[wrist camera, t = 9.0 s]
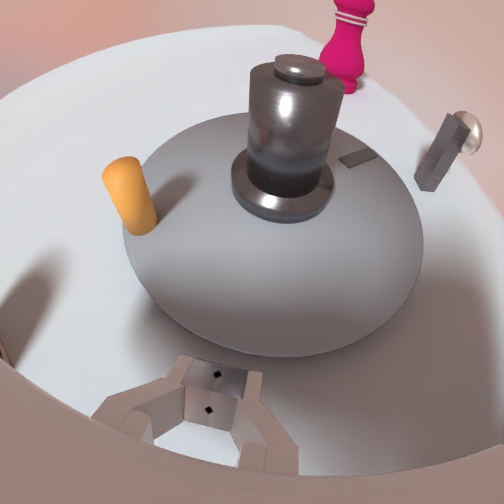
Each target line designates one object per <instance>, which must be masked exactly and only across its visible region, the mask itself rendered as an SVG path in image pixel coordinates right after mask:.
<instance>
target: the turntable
mask: <svg viewBox="0 0 504 504" xmlns="http://www.w3.org/2000/svg"><path fill="white" fill-rule="evenodd" d="M248 114H249V112H248V113H238V114H232V115H226V116H222V117H218V118H214V119H210V120H207V121H205V122H202V123H199V124H196V125H194V126H192V127H190V128H188V129H186V130H184V131H182V132H180V133H179V134H177V135H175V136H174V137H172V138H171V139H169V140H168V141H167V142H165V143H164V144H163V145H161V146H160V147H159V148H158V149H157V150H156V151H155V152H154V153H153V154H152V155H151V156H150V157H149V158H148V159H147V160H146V162H145V163H144V164H143V165H142V167H141V165H140V162H139V160H138V159H137V158H135V157H122V158H119V159H117V160H115V161H113V162H112V163H110V164H109V165H108V166H107V167H106V168H105V169H104V171H103V174H102V179H103V181H104V184H105V186H106V188H107V190H108V192H109V194H110V196H111V198H112V201H113V203H114V205H115V207H116V209H117V211H118V213H119V215H120V217H121V219H122V221H123V235H124V243H125V247H126V250H127V254H128V257H129V260H130V263H131V265H132V267H133V269H134V271H135V273H136V275H137V277H138V279H139V280H140V282H141V283H142V285H143V286H144V288H145V289H146V290H147V292H148V293H149V294H150V296H151V297H152V298H153V299H154V301H155V302H156V303H157V304H158V305H159V306H160V307H161V308H162V309H163V310H164V311H165V312H166V313H167V314H168V315H169V316H171V317H172V318H173V319H174V320H175V321H177V322H178V323H180V324H181V325H182V326H184V327H185V328H187V329H188V330H190V331H191V332H193V333H194V334H196V335H198V336H200V337H202V338H204V339H207V340H209V341H211V342H213V343H215V344H217V345H220V346H223V347H226V348H229V349H233V350H236V351H239V352H243V353H246V354H253V355H260V356H268V357H304V356H310V355H316V354H322V353H327V352H330V351H333V350H336V349H339V348H342V347H345V346H348V345H350V344H352V343H354V342H356V341H358V340H360V339H362V338H363V337H365V336H367V335H369V334H371V333H372V332H374V331H375V330H377V329H378V328H379V327H380V326H382V325H383V324H384V323H385V322H386V321H388V320H389V319H390V318H391V317H392V316H393V315H394V314H395V313H396V312H397V311H398V310H399V308H400V307H401V306H402V305H403V304H404V302H405V301H406V299H407V298H408V296H409V294H410V293H411V291H412V289H413V287H414V285H415V283H416V280H417V277H418V275H419V272H420V268H421V263H422V257H423V232H422V225H421V221H420V217H419V214H418V210H417V208H416V205H415V203H414V200H413V198H412V196H411V194H410V192H409V191H408V189H407V187H406V185H405V184H404V182H403V181H402V180H401V178H400V177H399V175H398V174H397V173H396V172H395V170H394V169H393V168H392V167H391V166H390V165H389V164H388V163H387V162H386V161H385V160H384V159H383V158H382V157H381V156H380V155H379V154H378V153H376V152H375V151H374V150H373V149H371V148H370V147H369V146H367V145H366V144H365V143H363V142H362V141H360V140H358V139H357V138H355V137H354V136H352V135H350V134H348V133H346V132H344V131H342V130H340V129H338V128H336V127H335V129H334V133H333V136H332V140H331V143H330V147H329V150H328V154H327V157H326V161H325V162H326V163H327V164H328V166H329V167H330V169H331V171H332V174H333V177H334V186H333V190H332V193H331V195H330V198H329V201H328V203H327V205H326V207H325V209H324V210H323V211H322V212H321V213H320V214H319V215H317V216H316V217H314V218H312V219H310V220H308V221H305V222H301V223H295V224H280V223H273V222H269V221H265V220H263V219H260V218H258V217H256V216H254V215H252V214H250V213H249V212H247V211H246V210H245V209H244V208H242V207H241V205H240V204H239V203H238V202H237V200H236V199H235V197H234V195H233V192H232V188H231V167H232V163H233V161H234V159H235V158H236V156H237V155H238V154H239V153H240V152H242V151H243V150H244V149H246V148H247V139H248Z"/></svg>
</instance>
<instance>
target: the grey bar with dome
mask: <svg viewBox="0 0 504 504" xmlns="http://www.w3.org/2000/svg"><path fill="white" fill-rule="evenodd" d="M482 136H483V134H482V128H481V125H480V123H479V121H478V119H477V118H476V117H475V116H474V115H472V114H470V113H468V112H465V111H458V112H456V113H455V114H454V115H451V114H448V113H447V115H446V117H445V119H444V121H443V124H442V126H441V128H440V130H439V132H438V134H437V136H436V138H435V139H434V141H433V143H432V145H431V147H430V149H429V151H428V153H427V155H426V156H425V158H424V160H423V162H422V164H421V166H420V167H419V169H418V171H417V173H416V174H415V176H414V178H415V180H416V182H417V184H418V186H419V188H420V189H421V191H429V192H434V191H435V189H436V188H437V186H438V185H439V183H440V182H441V180H442V179H443V177H444V176H445V174H446V172H447V171H448V169H449V168H450V166H451V164H452V163H453V161H454V160H455V158H456V156H457V154H458V153H462V154H466V155H472V154H474V153H475V152H477V150H478V149H479V148H480V146H481V142H482Z"/></svg>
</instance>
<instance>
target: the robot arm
mask: <svg viewBox="0 0 504 504" xmlns="http://www.w3.org/2000/svg"><path fill="white" fill-rule="evenodd" d="M262 378H263V373H262V372H257V371H251V370H249V371H248V370H243V369H238V368H233V367H229V366H224V365H221V364H217V363H213V362H209V361H205V360H202V359H198V358H194V357H191V356H187V355H184V354H182V355H180V356H179V358H178V359H177V361H176V362H175V364H174V366H173V367H172V369H171V371H170V372H169V374H168V375H167V377H166V379H163V378H160V379H157V380H155V381H152V382H149V383H147V384H144V385H141V386H138V387H135V388H133V389H130V390H127V391H124V392H121V393H118V394H115V395H112V396H109V397H107V398H106V399H105V400H104V402H103V403H102V404H101V405H100V407H99V408H98V409H97V410H96V412H95V413H94V414H93V415H92V417H91V418H90V417H88V416H86V415H84V414H82V413H80V412H79V411H77V410H75V409H73V408H72V407H70V406H68V405H66V404H65V403H63V402H61V401H60V400H58V399H56V398H55V397H53V396H52V395H50V394H49V393H47V392H46V391H44V390H43V389H41V388H40V387H38V386H37V385H35V384H34V383H32V382H31V381H30V380H28V379H27V378H25V377H24V376H23V375H21V374H20V373H19V372H17V371H16V370H15V369H14V368H12V367H11V366H10V365H9V364H7V363H6V362H5V361H4V360H3V359H1V358H0V504H504V444H499V445H496V446H493V447H491V448H488V449H486V450H483V451H480V452H477V453H474V454H471V455H468V456H465V457H462V458H458V459H455V460H451V461H447V462H444V463H440V464H435V465H431V466H426V467H421V468H416V469H410V470H404V471H398V472H390V473H382V474H371V475H357V476H303V475H298V446H297V445H296V444H295V443H294V442H293V440H292V439H291V438H290V437H289V435H288V434H287V433H286V432H285V430H284V429H283V428H282V426H281V425H280V424H279V423H278V421H277V420H276V419H275V417H274V416H273V415H272V413H271V412H270V411H269V409H268V408H267V407H266V405H265V404H264V403H261V402H260V394H261V387H262ZM183 420H185V421H188V422H192V423H196V424H200V425H205V426H209V427H212V428H216V429H220V430H224V431H228V432H230V433H231V436H232V438H233V440H234V442H235V444H236V446H237V448H238V450H239V452H240V454H239V458H238V461H237V464H236V467H230V466H225V465H221V464H216V463H212V462H208V461H204V460H200V459H196V458H192V457H189V456H185V455H182V454H178V453H175V452H172V451H169V450H166V449H163V448H160V447H157V446H154V442H153V440H154V439H156V438H157V437H159V436H161V435H162V434H164V433H166V432H167V431H169V430H171V429H172V428H174V427H175V426H177V425H179V424H180V423H182V422H183Z"/></svg>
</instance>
